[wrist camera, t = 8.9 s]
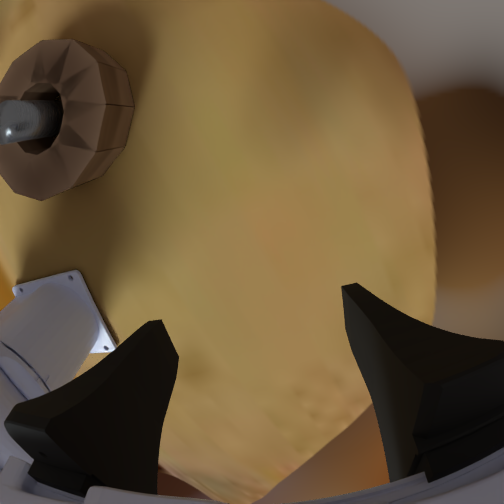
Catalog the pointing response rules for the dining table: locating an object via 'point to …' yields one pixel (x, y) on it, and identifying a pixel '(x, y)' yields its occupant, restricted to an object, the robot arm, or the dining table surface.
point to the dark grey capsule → (29, 120)
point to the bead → (67, 117)
